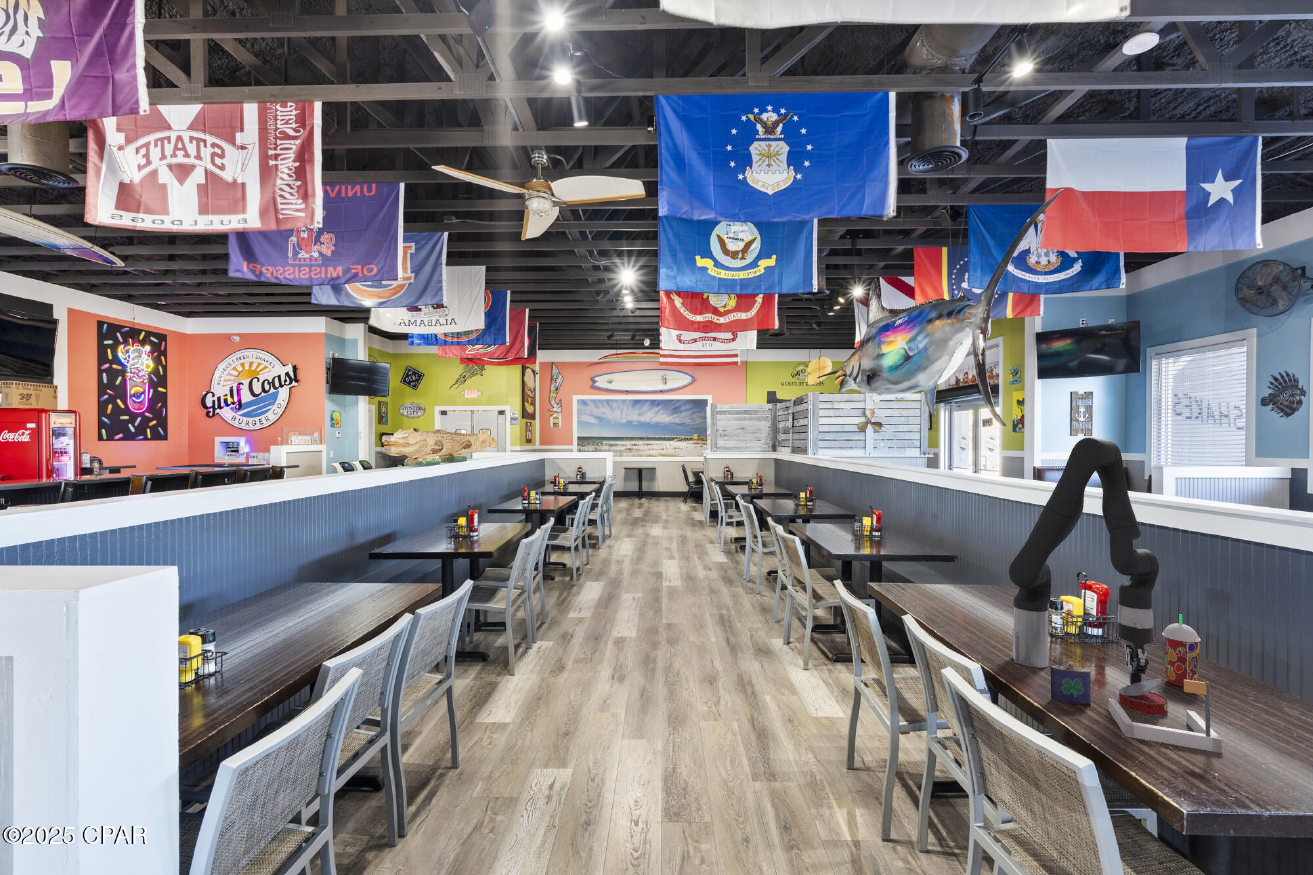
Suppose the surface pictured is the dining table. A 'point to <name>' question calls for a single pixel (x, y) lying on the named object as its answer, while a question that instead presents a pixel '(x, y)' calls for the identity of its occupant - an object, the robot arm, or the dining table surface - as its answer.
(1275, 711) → the dining table surface
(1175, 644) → the smoothie
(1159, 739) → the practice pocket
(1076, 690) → the flask
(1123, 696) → the canned food
